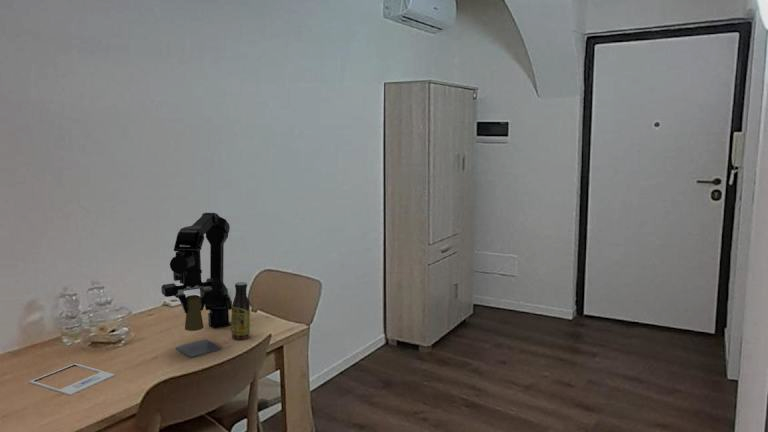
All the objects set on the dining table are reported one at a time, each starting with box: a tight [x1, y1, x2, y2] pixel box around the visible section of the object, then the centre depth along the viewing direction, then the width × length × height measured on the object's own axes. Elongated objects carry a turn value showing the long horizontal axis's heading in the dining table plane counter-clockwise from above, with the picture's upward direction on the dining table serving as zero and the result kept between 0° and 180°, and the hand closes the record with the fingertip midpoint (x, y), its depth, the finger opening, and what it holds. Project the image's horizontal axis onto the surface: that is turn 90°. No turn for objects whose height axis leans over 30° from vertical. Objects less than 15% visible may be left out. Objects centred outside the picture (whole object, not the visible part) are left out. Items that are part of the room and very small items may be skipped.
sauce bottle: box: [231, 281, 251, 340], centre depth 205 cm, size 7×6×20 cm
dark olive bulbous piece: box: [184, 294, 204, 332], centre depth 193 cm, size 6×6×11 cm
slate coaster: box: [175, 338, 223, 359], centre depth 195 cm, size 11×11×1 cm
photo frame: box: [28, 363, 116, 396], centre depth 171 cm, size 15×1×18 cm
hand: (193, 311), depth 193 cm, fingers closed on dark olive bulbous piece, 5 cm apart
